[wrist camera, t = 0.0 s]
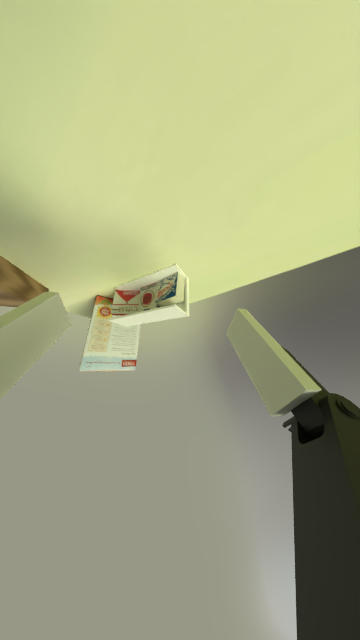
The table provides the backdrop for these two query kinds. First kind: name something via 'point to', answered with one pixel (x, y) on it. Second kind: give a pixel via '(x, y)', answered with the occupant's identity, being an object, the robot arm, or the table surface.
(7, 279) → the walnut block
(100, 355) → the cracker box
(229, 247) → the table surface
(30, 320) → the robot arm
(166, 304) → the white packet holder
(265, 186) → the table surface
